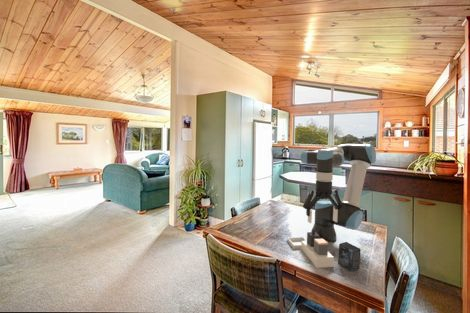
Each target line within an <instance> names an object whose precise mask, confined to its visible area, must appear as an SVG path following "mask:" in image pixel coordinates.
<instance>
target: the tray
mask: <svg viewBox="0 0 470 313" xmlns="http://www.w3.org/2000/svg"><path fill="white" fill-rule="evenodd" d="M286 238H287V239H286V241H287V242H288V244H289V245H290V247H291V248H292V249H294V250H302V249H301V241H307V238H305V237H304V236H296V237H295V236H293V237H292V236H291V237H286Z"/></svg>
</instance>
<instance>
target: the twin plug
mask: <svg viewBox="0 0 470 313" xmlns="http://www.w3.org/2000/svg"><path fill="white" fill-rule="evenodd" d="M311 231H312V232H309V231H308V232H307V233H306V235H307V236H306V240H307V243H308V245H309V246H310V247H314V239H320V236H319V235H318V234H317V233H316V232H315V228H313V227H312V228H311Z"/></svg>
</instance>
